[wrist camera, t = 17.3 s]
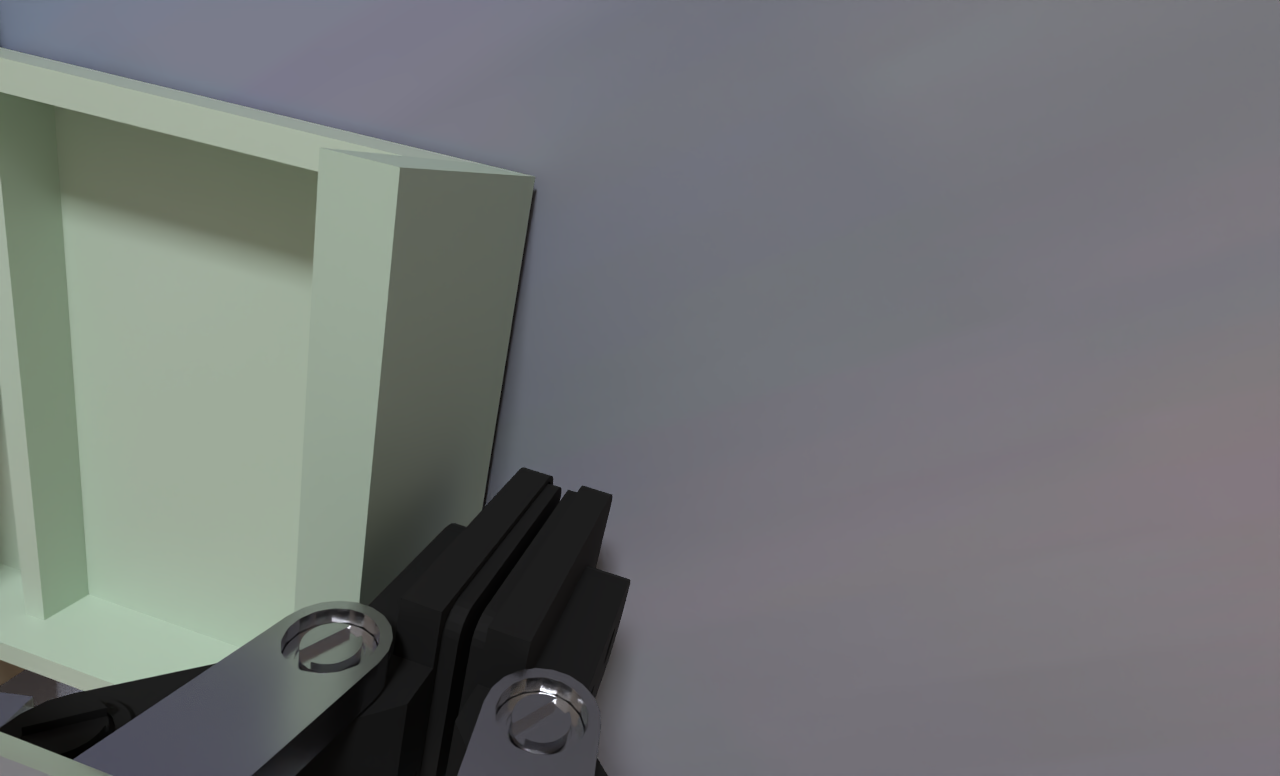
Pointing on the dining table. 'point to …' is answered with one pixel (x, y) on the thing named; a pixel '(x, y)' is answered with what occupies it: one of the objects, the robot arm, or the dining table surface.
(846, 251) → the dining table surface
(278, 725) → the robot arm
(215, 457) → the tray
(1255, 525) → the dining table surface
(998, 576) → the dining table surface
